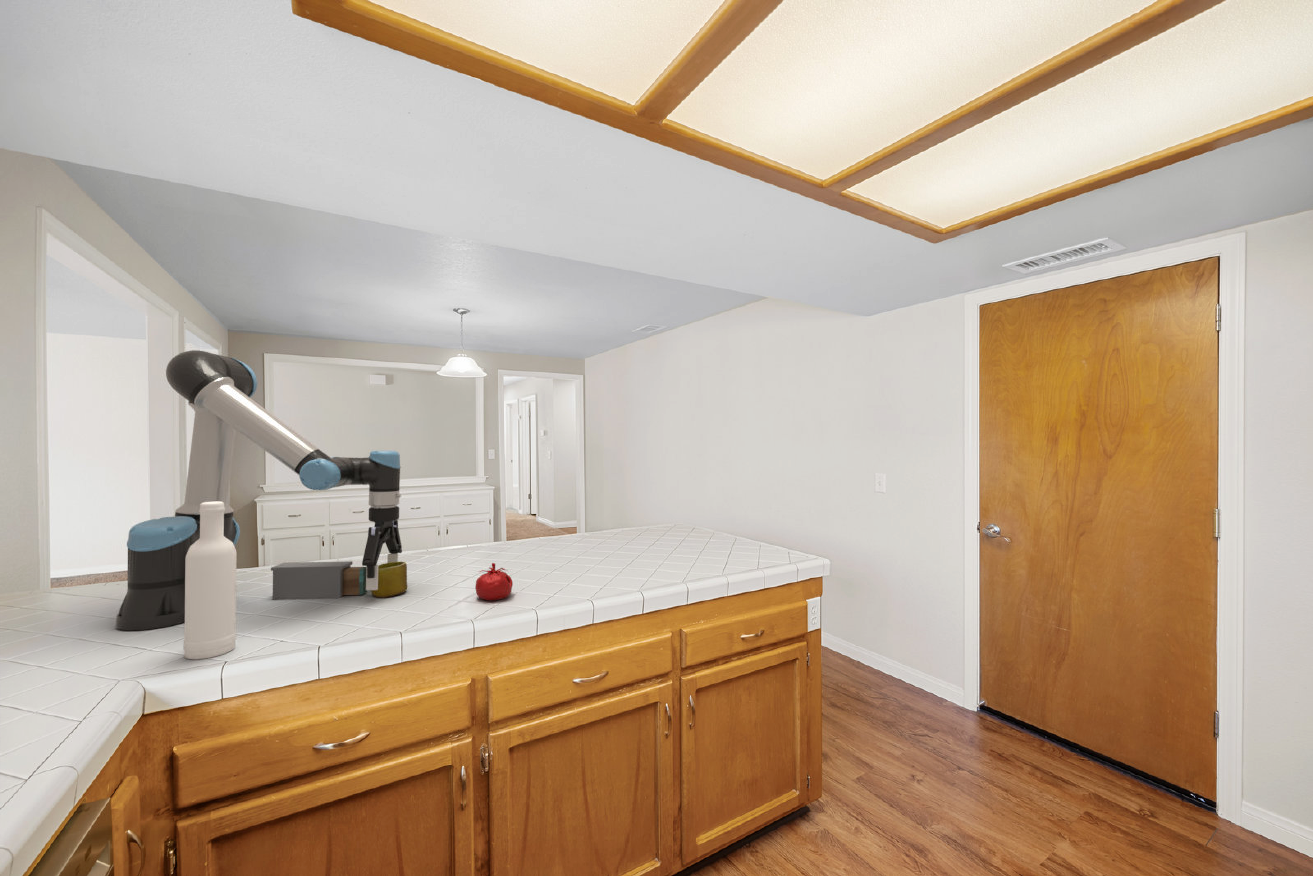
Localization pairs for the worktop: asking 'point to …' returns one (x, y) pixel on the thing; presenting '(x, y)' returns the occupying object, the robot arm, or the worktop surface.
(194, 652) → the bottle
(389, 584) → the mug
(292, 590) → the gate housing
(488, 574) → the pomegranate
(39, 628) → the worktop surface
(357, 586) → the gate
